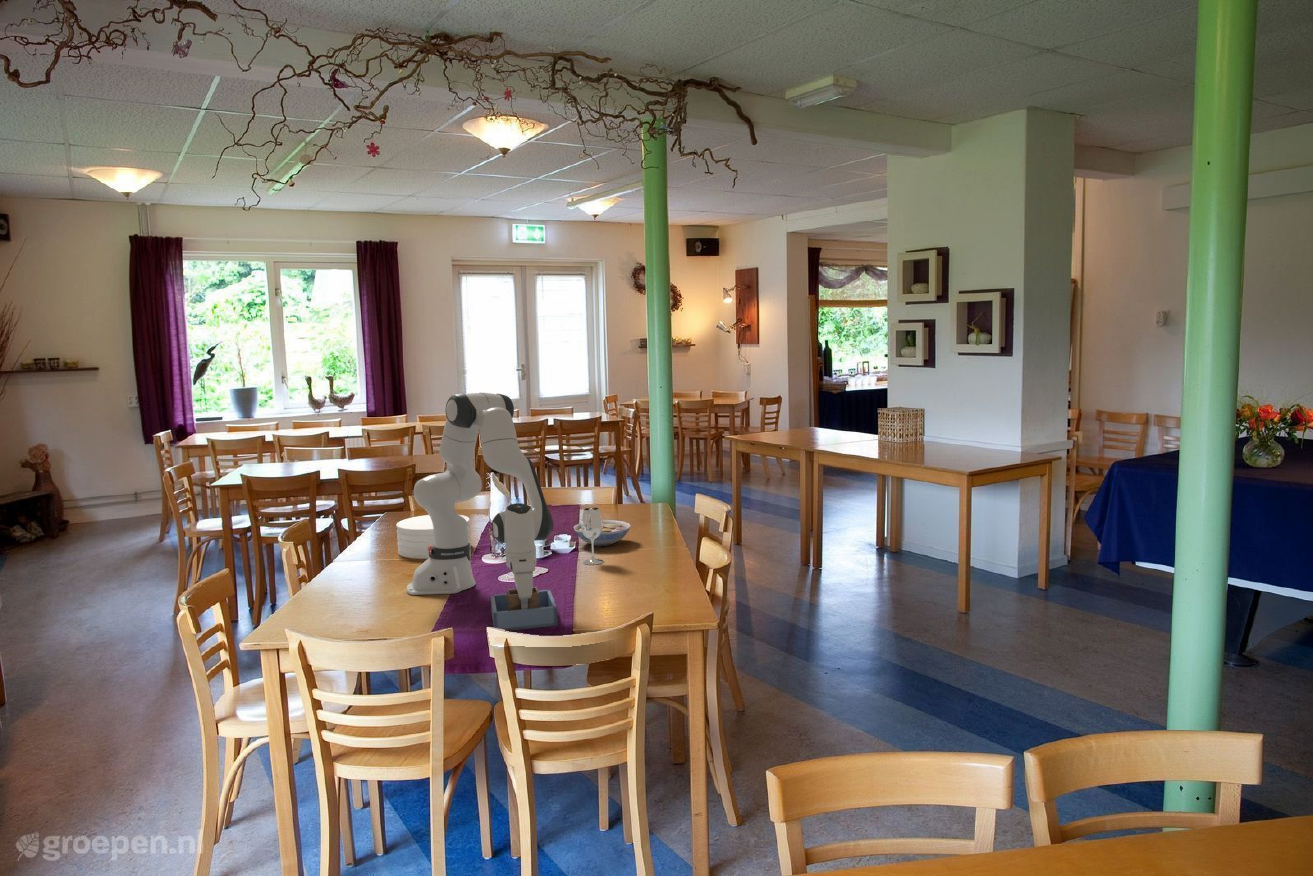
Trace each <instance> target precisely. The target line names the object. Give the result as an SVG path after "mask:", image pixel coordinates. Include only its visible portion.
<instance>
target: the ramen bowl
mask: <svg viewBox="0 0 1313 876" xmlns="http://www.w3.org/2000/svg"><path fill="white" fill-rule="evenodd" d="M581 523H582V522H581ZM581 523H578V524H575V525H574V526H573V529H574V531H575V534H576V535H577V536H578V537H579V539H580V540H582V541H583V542H586V543H587V544H591V540H590V539H588V538H586V537H585V536H584V535H583V533H582V530H581ZM602 525H603V530H602V533H601V535H600V536H599V537H598V538H596V539H594V546H595V547H609V546H611V545H613V544H615V543H618V542H619V541H621V540H622V539H623V538H625V536H626V535H627V534H628V532H629V530H630V529H631V527H632V526H631V524H630V523H629V522H626V521H621V520H615V519H614V520H613V519H611V520H610V519H609V520H608V519H603V520H602ZM591 545H592V544H591Z"/></svg>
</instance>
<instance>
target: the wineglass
mask: <svg viewBox="0 0 1313 876" xmlns="http://www.w3.org/2000/svg"><path fill="white" fill-rule="evenodd" d="M581 517H582V518H581V530H582V533H583V535H584V536H585V537H586V538H588V539H590V540H591V557H590V558H588V559H584V560H583V561H582V563H583V564H584V565H587V566H588V565H589V566H590V565H591V566H595V565H601V564H603V563H604V560H603V559H601V558H596V557H595V551H594V549H595V548H594V546H595V545H594V539H596V538H598V537H599V536H600V535H601V533H602V530H603V525H602V516H601V512H600V508H599V507H595V506H594V507H585V508H583V512H582V516H581Z"/></svg>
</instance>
